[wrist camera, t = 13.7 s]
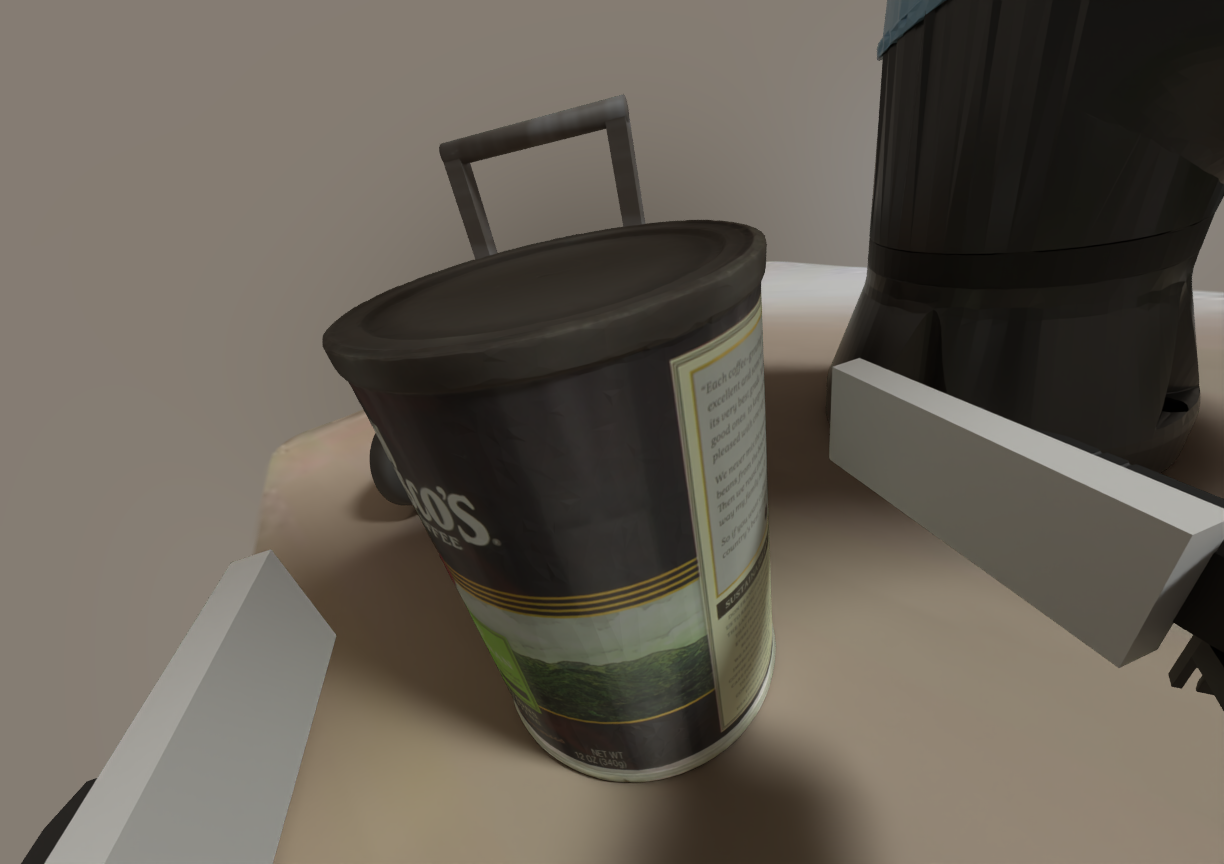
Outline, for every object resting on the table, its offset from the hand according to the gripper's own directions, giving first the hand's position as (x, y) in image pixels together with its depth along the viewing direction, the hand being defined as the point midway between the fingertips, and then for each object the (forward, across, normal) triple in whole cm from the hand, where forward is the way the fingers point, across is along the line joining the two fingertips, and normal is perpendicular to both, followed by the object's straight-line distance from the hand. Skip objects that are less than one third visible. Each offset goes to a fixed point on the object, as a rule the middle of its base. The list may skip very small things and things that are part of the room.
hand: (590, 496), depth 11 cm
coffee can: (+3, +1, -10) cm, 10 cm away
